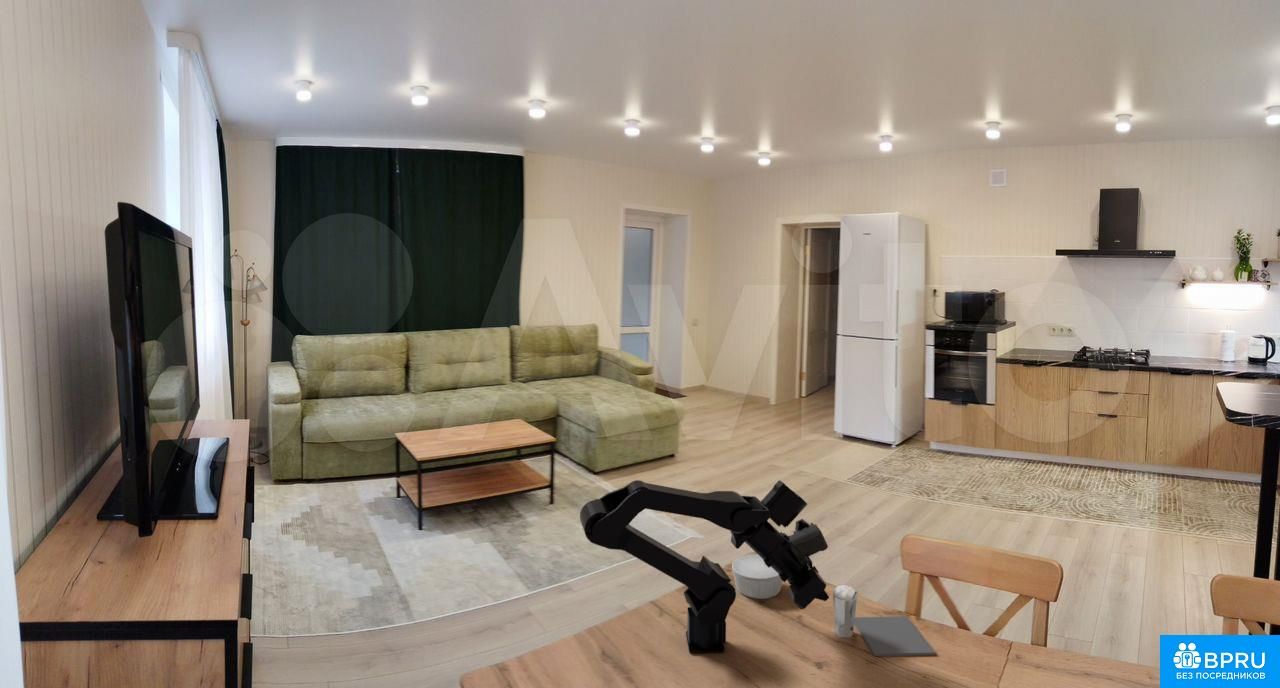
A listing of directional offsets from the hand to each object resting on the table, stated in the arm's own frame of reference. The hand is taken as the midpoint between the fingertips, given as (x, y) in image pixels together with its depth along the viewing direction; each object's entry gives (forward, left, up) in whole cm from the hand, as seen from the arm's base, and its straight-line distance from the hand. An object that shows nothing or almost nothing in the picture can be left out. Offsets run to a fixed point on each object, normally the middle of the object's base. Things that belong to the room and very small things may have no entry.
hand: (826, 598), depth 124 cm
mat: (+12, -1, -7) cm, 14 cm away
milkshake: (+4, 0, -7) cm, 8 cm away
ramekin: (-9, +18, -8) cm, 22 cm away
